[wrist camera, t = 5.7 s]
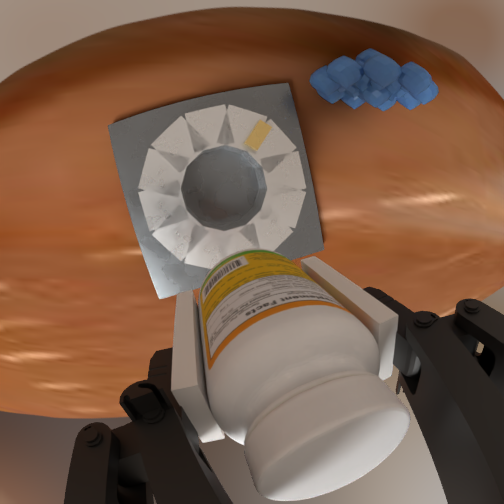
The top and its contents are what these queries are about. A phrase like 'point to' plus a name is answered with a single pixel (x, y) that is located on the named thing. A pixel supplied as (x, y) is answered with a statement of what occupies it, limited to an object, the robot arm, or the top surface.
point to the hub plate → (216, 182)
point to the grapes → (374, 82)
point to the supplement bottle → (293, 377)
